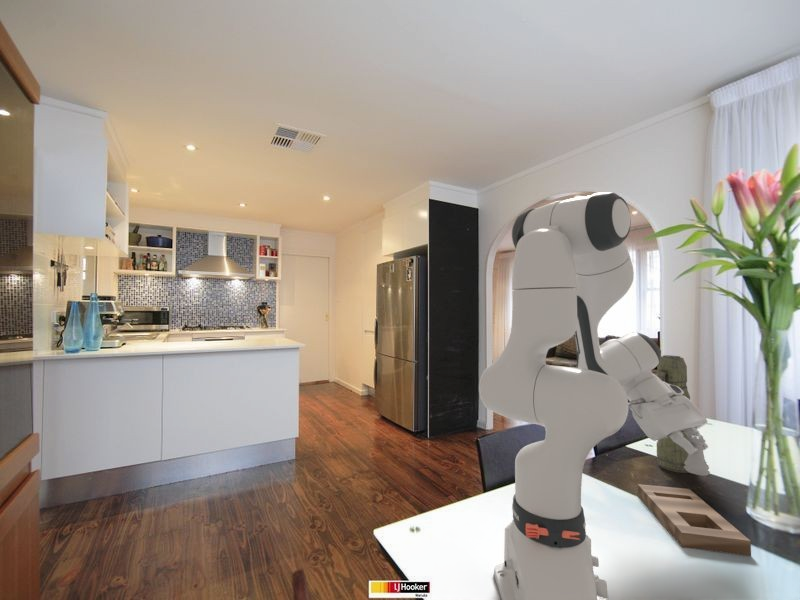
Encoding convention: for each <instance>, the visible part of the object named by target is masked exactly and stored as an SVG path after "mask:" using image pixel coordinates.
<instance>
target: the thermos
mask: <svg viewBox="0 0 800 600" xmlns="http://www.w3.org/2000/svg"><path fill="white" fill-rule="evenodd" d="M656 367H657V368H656V369H657V370H656V372H657V375H656V376H657V377H659V379H660V380H661V381H662V382H666V383H668V384H671V385H675V386H678V387H680V388H681V389H682V390H683V392H684V394H682V395H683V396H685V397H687V398H688V399H689V400H690V401H691V396H690V393H689V391H688V386H687V383H688V366H687V364H686V362H685V359H684V357H681V356H679V355H668V354H665V355H664V354H663V355H661V360H660V363H659V365H658V366H656ZM682 434H683V435H684V436H683V437H684V438H685V439H687V437H688V436H687V435H686V434H685V433H682ZM687 440H688V439H687ZM656 441H657V442H656V457H657V465H658V466H659V467H660V468H662V469H664V470H666V471H670V472H673V473H680V474H689V473H690V472H688V471H686V469H685V468H684V466H686V465H685V464H684V462H685V460H687V458H688V455H689V454H688V453H687V452H686V451H685V449H684V448H683V447H681V446H679V445H678V444H677V443H675V442H674V441H673V440H672V439H671V438H670V437H667V438H664V439H660V440H656ZM690 474H691V473H690Z"/></svg>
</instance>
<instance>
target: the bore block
mask: <svg viewBox="0 0 800 600" xmlns="http://www.w3.org/2000/svg"><path fill="white" fill-rule="evenodd" d="M637 497H638V498H639V499H640V500H641V501H642V502H643V503H644V504H645V506H646V507H647V508H648V510H650V512H651V513H652V514H653V515H654V516H655V517H656V518H657V520H659V522H660V523H661V524H662V526H663V527H664V528H665V529H666V530H667V531H668V533H669V534H670V535H671V536H672V537H673V538H674V539H675V541H676V542H677V543H678V544H679V545H680V546H681V548H685V549H692V550H701V551H707V552H708V551H709V552H716V553H724V554H733V555H740V556H747V557H751V556H752V546H751V544H752V541H751V539H749V538H748V537H747V536H745V535H744V534H743V533H742V532H741V531H740V530H738V529H737V528H736V527H735V526H734V525H733V524H732V523H730V522H729V521H728V520H726V519H725V518H724V517H723V516H722V515H721V514H720V513H719V512H717V511H716V510H715V509H713V507H711V506H710V505H709V504H708V503H707V502H705V501H704V500H703V498H701V497H700V496H698V495H697V494H696V493H695V492H694V491H692V490H691V489H690V488H680V487H671V486H661V485H650V484H640V483H637Z"/></svg>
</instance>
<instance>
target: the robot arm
mask: <svg viewBox="0 0 800 600" xmlns="http://www.w3.org/2000/svg"><path fill="white" fill-rule="evenodd" d="M631 223H632V221H631V212H630V208H629V205H628V203H627V201H626V200H625V199H624V198H623V197H621V196H620V195H618V194H617V193H615V192H610V191H609V192H606V191H605V192H595V193H593V194H591V195H587V196H580V197H573V198H569V199H560V200H557V201H553V202H550V203H547V204H544V205H543V206H540V207H537V208H531V209H528V210H526V211H524V212H523V213H521V214H519V215H518V216H517V218H516V219H515V221H514V223H513V226H512V229H511V238H512V244H513V246H514V248H515V252H514V258H513V266H512V277H511V278H512V281H511V282H512V285H511V286H512V287H511V289H512V293H511V295H512V297H511V298H512V300H511V301H512V306H511V307H512V310H511V311H512V312H511V313H512V314H511V315H512V316H511V328H510V334H509V338H508V341H507V343H506V345H505V347H504V349H503V351H502V353H501V354H500V355H499V356H498V357H497V358H496V360H494V361H493V362H492V363H490V364H489V365H488V366H487V367H486V368H485V369H484V370H483V372H482V373H481V376H480V378H479V383H478V392H479V397H480V401H481V402H482V404H483V406H484V408H485V409H487V410H488V411H491V412H493V413H495V414H497V415H500V416H501V417H504V418H506V419H510V420H514V421H519V422H524V423H528V424H534V425H538V426H541V427H544V429H545V437H544V440H543V439H542V440H539V441H535V442H532V443H529V444H527V445H525V446H523V447H522V448H520V450H519V451H518V453H517V454H516V456H515V460H514V479H515V481H514V482H515V483H514V485H515V486H514V490H515V491H514V492H515V493H514V495H513V497H512V504H511V505H512V506H511V510H512V518H513V519H512V521H511V522H510V523H509V524H508V525H506V527H505V528H504V545H503V547H504V550H503V554H504V555H503V556H504V557H503V563H499V564H498V565H496V566H494V569H493V576H494V579H495V583H496V585H497V589H498V592H499V595H500V597H501V600H609V598H608V597H609V596H608V585H607V581H606V580H604V579H602V578H600V577H599V575H597V574H595V572H594V567H595V568H599V567H600V564H599V563H600V562H599V558H598V556H593V555H592V538H591V537H589V536H588V534H587V532H586V518H585V517H586V516H585V511H584V508H583V506H582V481H583V471H584V466H585V465H584V464H585V462H586V459H587V458H588V456H589V454H590V452H591V450H593V449H594V447H596V445H597V444H599V443H600V442H601V441H602V440H605V439H607V438H608V437H610V436H612V435H614V434H616V433H617V432H618V431H619V430H620V429H621V428H622V427H623V426H624V425H625V423H626V420H627V418H628V416H629V411H631V414H632V417H633V419H634V420H635V422H636V423H637V425H638V426H639V428H640V429H641V430H642V432H643V433H644V434H645V435H646V437H647V438H648V439H650V440H652V441H655V442H656V441H658V440H660V439H664V438H667V437H670V438H671V439H672V440H673V441H674V442H675V443H677V444H678V445H679V446H681V447H683V448H684V449H685V451H686V452H687V453H688V454H694V453H696V452H697V451H698V448H697V447H696V446H695V445H694V443H690V442H689V441H688V440H687V439H685V438H684V437H683V436H684V435H683V434H682V433H685V434H686V435H687V436H689V434H690V433H692V434H693V436H695V434H698V436H699V435H701V433H700V431H699V429H701V428H702V427H704V426H705V425H707V424H708V420H707V417H706V415H704V413H703V412H702V411H701V410H700V409H699V408H698V407H697V406H696V404H694V403H693V401H692V400H691V399H690V400H689V399H688V398H687V397H685V396H683V395H682V394H684V392H683V390H682V389H681V388H680V387H678V386H675V385H671V384H668V383H666V382H662V381H661V380H660V379H659V377H657V375H656V374H655V373H653V372H652V370H654V369H655V368H656V367H657V366H658V365H659V363H660V360H661V357H662V350H661V348H660V347H659V346H658V344H657V343H656V342H655V341H654V340H653V339H652V338H651V337H649V336H647V335H646V334H643V333H640V332H637V331H636V332H635V331H633V332H629V333H628V334H625V335H622V336H620V337H619V338H612V339H608V340H606V341H603V343H601V344H600V339H599V333H598V327H599V324H600V322H601V320H602V319H603V317H604V316H605V315H606V314H607V312H609V310H610V309H611V308H612V307H613V306H615V304H617V303H618V302H619V301H620V300H621V299H622V298H623V297H624V296H626V294H627V293H628V292H629V290H630V289H631V286H632V285H633V282H634V275H635V274H634V267H633V262H632V258H631V256H630V253H629V250H628V246H627V244H626V242H625V240H626V239H627V238H628V237H629V234H630V232H631ZM572 337H573V340H574V347H575V350H576V367H574V366H573V367H572V366H571V367H570V366H563V365H562V366H561V365H550V364H547V363H546V362H547V361H546V360H547V355H548V352H549V350H550V349H552V348H554V347H557V346H559V345H561V344H563V343H566V342H567V341H569V340H570V339H571V338H572ZM703 447H704V449H703V451H705V450H707V449H709V445H708V444H707V443H706V442H705V443H703Z"/></svg>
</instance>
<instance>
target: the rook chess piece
mask: <svg viewBox="0 0 800 600" xmlns="http://www.w3.org/2000/svg"><path fill="white" fill-rule="evenodd" d="M687 439H688V441H689V442H690V443H694V445H695V446H696V447H697V448H698V451H697V452H696V453H694V454H689V455H688V458H687V460H685V462H684V464H685V465H686V466H684V468H685V469H686V471H688V472H690V474H693V475H696V476H703V477H704V476H708V475H710V472H711V471H709V469H710V466H709V465H708V464H707V461H706V459H705V455H704V450H703V449H704V447H703V443H706V440H705V439H704V436H703V435H702V434H700V435H699V436H698V434H695V436H693V434H692V433H690V434H689V436H688V437H687Z"/></svg>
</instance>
